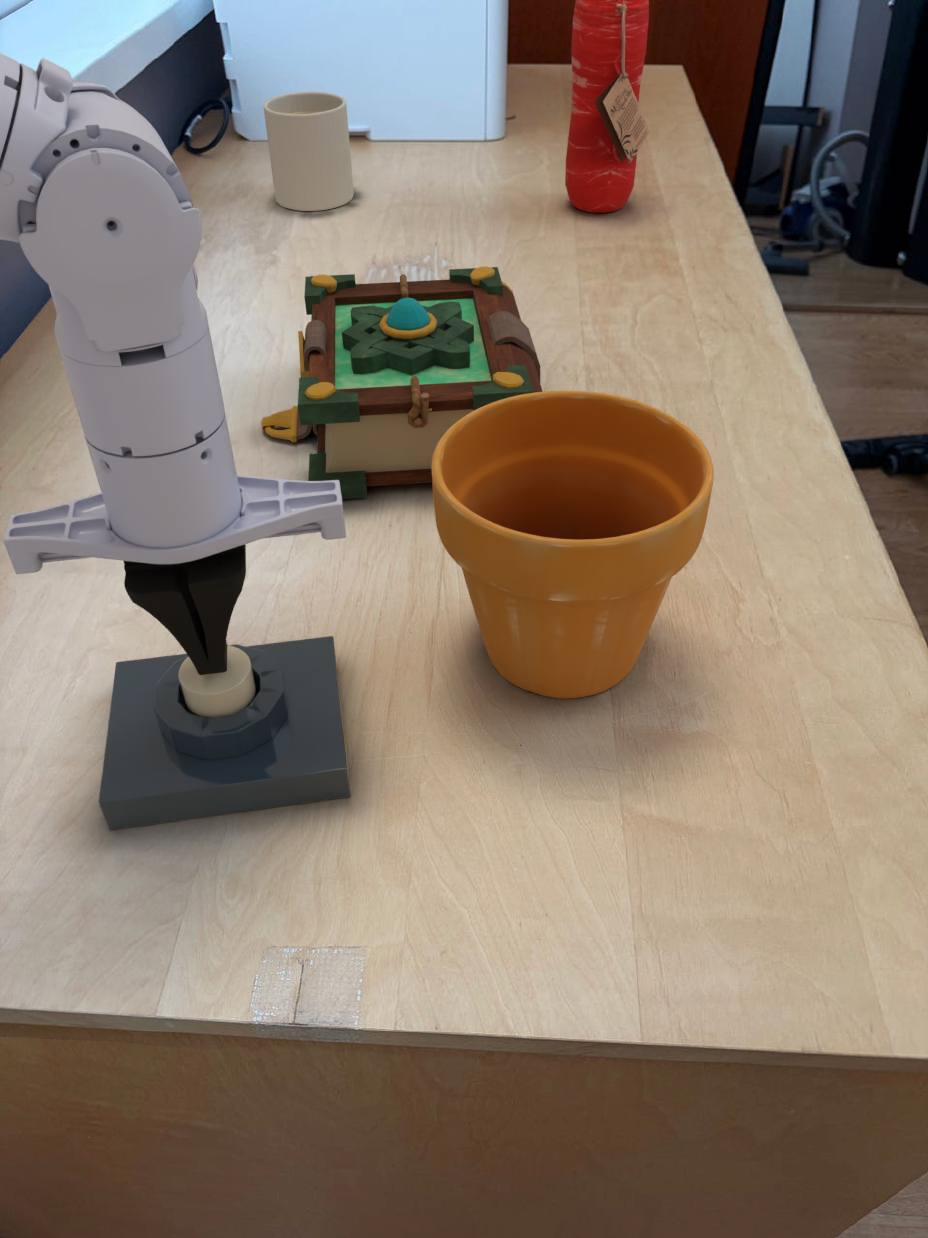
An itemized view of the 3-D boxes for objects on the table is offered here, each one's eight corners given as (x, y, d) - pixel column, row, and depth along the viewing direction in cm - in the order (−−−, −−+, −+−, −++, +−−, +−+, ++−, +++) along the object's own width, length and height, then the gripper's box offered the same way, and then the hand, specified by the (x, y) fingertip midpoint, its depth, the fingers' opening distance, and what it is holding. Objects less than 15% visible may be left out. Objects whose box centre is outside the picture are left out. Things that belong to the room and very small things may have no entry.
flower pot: (441, 742, 55) (433, 548, 47) (437, 575, 66) (429, 392, 58) (705, 732, 56) (745, 537, 47) (658, 567, 66) (684, 384, 58)
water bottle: (651, 227, 110) (681, -51, 93) (577, 232, 109) (593, -48, 93) (624, 188, 119) (646, -72, 102) (555, 192, 118) (566, -69, 102)
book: (272, 336, 92) (256, 222, 85) (509, 323, 93) (511, 210, 87) (254, 508, 72) (230, 378, 65) (555, 489, 73) (562, 359, 67)
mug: (294, 217, 114) (282, 119, 107) (261, 191, 120) (248, 97, 113) (382, 198, 118) (376, 102, 111) (347, 174, 124) (339, 82, 117)
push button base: (109, 831, 51) (88, 778, 49) (124, 689, 59) (107, 637, 56) (351, 797, 53) (344, 744, 50) (336, 663, 60) (330, 611, 58)
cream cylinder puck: (183, 723, 52) (176, 698, 51) (186, 673, 55) (179, 648, 53) (256, 713, 52) (251, 689, 51) (255, 664, 55) (250, 640, 54)
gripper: (324, 359, 47) (351, 592, 56) (-11, 390, 45) (72, 625, 54) (336, 441, 41) (363, 684, 50) (-43, 480, 40) (55, 723, 49)
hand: (213, 660), depth 52 cm, fingers closed
